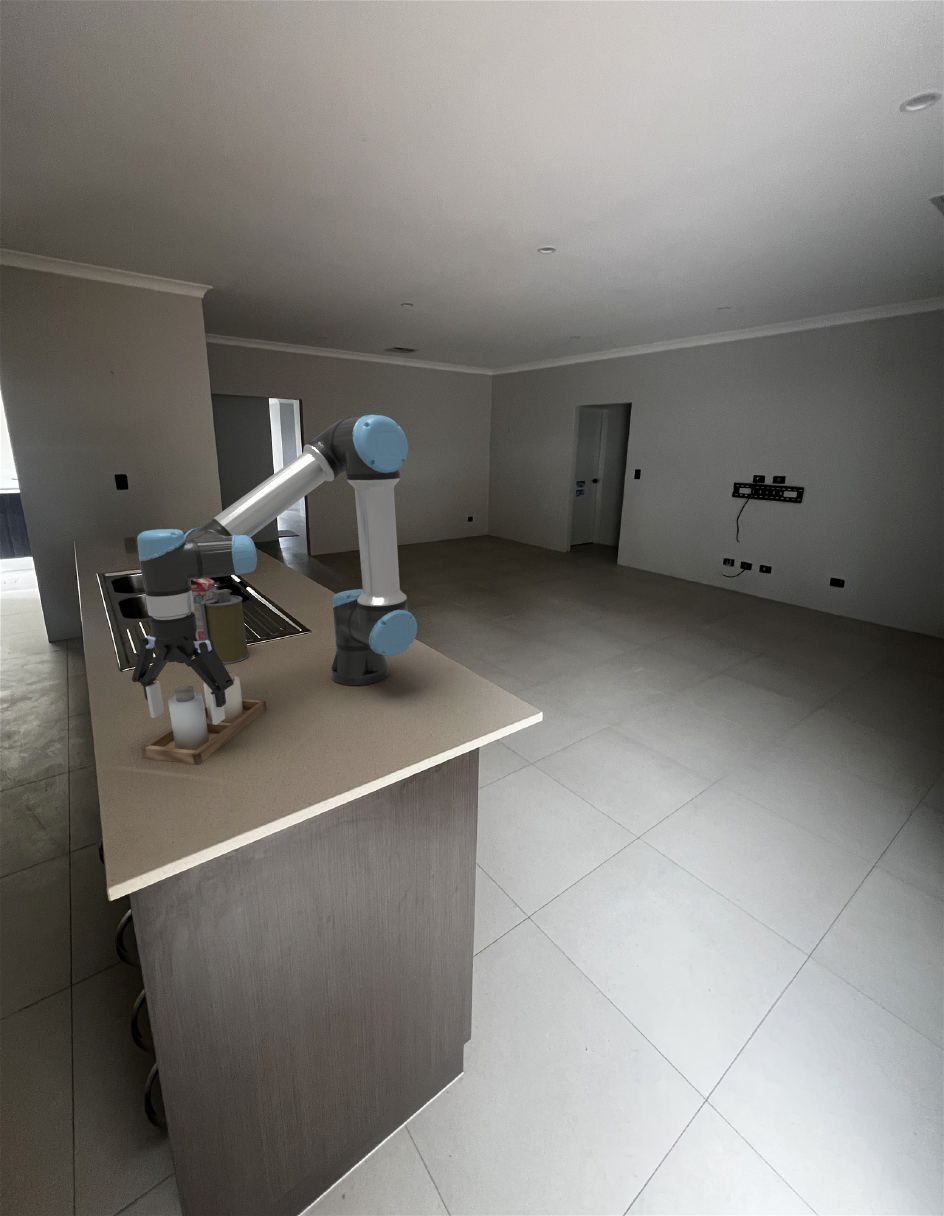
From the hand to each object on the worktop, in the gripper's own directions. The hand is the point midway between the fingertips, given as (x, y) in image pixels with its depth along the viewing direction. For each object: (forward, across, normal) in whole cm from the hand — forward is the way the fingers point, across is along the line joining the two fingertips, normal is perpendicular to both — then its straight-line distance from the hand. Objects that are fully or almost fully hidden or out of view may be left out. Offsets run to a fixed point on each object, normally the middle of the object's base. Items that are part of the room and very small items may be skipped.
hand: (188, 718), depth 106 cm
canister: (+7, +24, -46) cm, 53 cm away
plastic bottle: (+6, 0, 0) cm, 6 cm away
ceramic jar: (+6, 0, -11) cm, 12 cm away
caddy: (+7, 0, -6) cm, 9 cm away
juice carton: (+7, +40, -58) cm, 71 cm away
